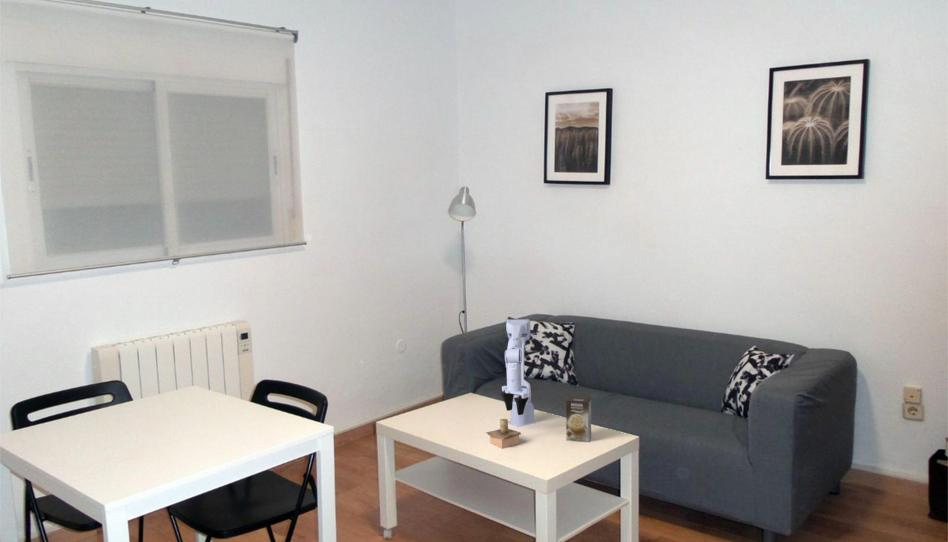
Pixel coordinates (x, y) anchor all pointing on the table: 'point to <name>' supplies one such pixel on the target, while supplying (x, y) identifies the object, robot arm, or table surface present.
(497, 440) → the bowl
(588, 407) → the coffee box
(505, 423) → the lid
